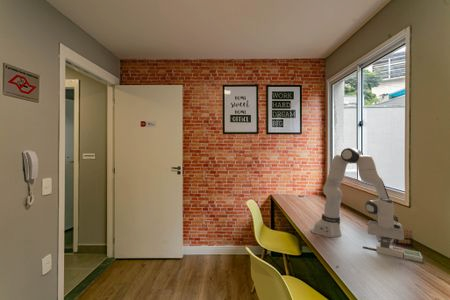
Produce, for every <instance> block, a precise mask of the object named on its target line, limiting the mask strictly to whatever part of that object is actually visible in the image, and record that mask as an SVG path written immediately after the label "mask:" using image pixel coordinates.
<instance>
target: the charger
mask: <svg viewBox="0 0 450 300" xmlns="http://www.w3.org/2000/svg"><path fill="white" fill-rule="evenodd" d="M379 239H381V243H380V242H379V244H380V246H381V247H384V248H389V246H391V245H390V241H391V240H390V239H391V238H387V237H382V236H379Z"/></svg>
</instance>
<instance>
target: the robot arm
mask: <svg viewBox="0 0 450 300" xmlns="http://www.w3.org/2000/svg"><path fill="white" fill-rule="evenodd" d="M349 164H356V166H357V170H358V175H359V178H360V180H362V181H363V183H367V184H369V185H371V186H373V187H374V188H375V190H376V193H377V196H378V198H377V199H372V200H367V201H366V202H365V204H364V208H365V211H366V212H367V213H368V214H370V215H376V216H377V215H378V221H377V220H376V221H375V220H368V221H367V223H366V227H367V230H366V232H367V234H368V235H371V236H375V238H376V239H377V243H379V244H380V243H381V239H380V236H382V237H387V238H389V239H391V240H390V246H393V242H395V239H399V240H404V232H403V230H404V228H403V225H402V224H401V223H400V222H399V221H398V222H396V221H394V218H393V214H395V206H394V202H393V200H392V199H390V196H389V193H388V191H387V187H386V184H385V183H384V180H383V179H382V178H381V177H380V176H379V174H378V171H377V167H376V163H375V161H374V159H373V157H372V156H370V155H367V154H365V155H364V154H363V152H362V151H361V150H360V149H357V148H353V147H345V148H344V149H343V150H342V151H341V153H340V154H337V155H334V156H333V159H332V161H331V163H330V168H329V171H328V176H327V179H326V181H325V182H324V183H325V184H324V185H323V187H322V192H323V195H325V196H326V199H325V204H324V210H323V211H324V212H323V213H322V214H321V219H319V220H317V221H316V222H314V225H313V226H312V227H311V230H310V231H311V233H312V234H316V235H320V236H324V237H328V238H336V237H337V238H338V237H341V236H342V232H341V231H342V230H341V226H340V224H341V216H340V213H341V212H340V210H341V209H340V208H341V203H342V199H343V197H344V194H343V192H342V190H341V188H340V186H341V184H342V183H343V181H344V178H345V175H346V174H345V173H346V171H347V170H346V169H347V166H348V165H349ZM402 228H403V229H402Z"/></svg>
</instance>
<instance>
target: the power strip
mask: <svg viewBox="0 0 450 300" xmlns="http://www.w3.org/2000/svg"><path fill="white" fill-rule="evenodd" d="M375 247H376V248H373V247H369V246H364V245H363V246H362V249H367V250H371V251H376V253H378V254H382V255H383V254H384V255H387V256H392V257H398V258H401V259H404V257H403V250H402V249H403V247H400V246H398V247H397V246H393V245H390V246H389V248H384V247H381V246H380V242H376V246H375Z"/></svg>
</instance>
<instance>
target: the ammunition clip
mask: <svg viewBox="0 0 450 300" xmlns="http://www.w3.org/2000/svg"><path fill="white" fill-rule="evenodd" d="M402 229H403V232H404V240H399V239H394V244H396V245H402V246H403V245H404V246H411V245H412V247H414V238H413V229H412V228H410V229H409V227H408V228H406V227H405V228H403V227H402Z"/></svg>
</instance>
